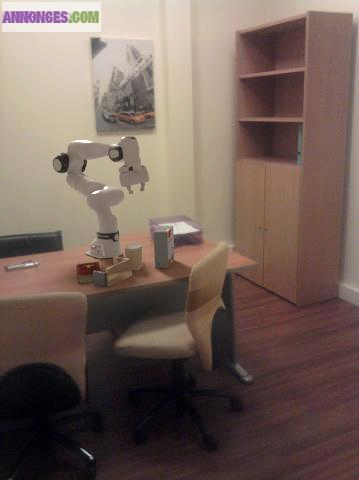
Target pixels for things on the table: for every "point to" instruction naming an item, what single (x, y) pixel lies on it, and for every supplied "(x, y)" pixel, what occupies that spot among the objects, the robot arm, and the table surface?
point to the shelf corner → (118, 270)
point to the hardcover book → (87, 271)
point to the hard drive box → (164, 246)
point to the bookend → (100, 278)
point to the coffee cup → (134, 255)
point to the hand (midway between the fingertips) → (137, 192)
